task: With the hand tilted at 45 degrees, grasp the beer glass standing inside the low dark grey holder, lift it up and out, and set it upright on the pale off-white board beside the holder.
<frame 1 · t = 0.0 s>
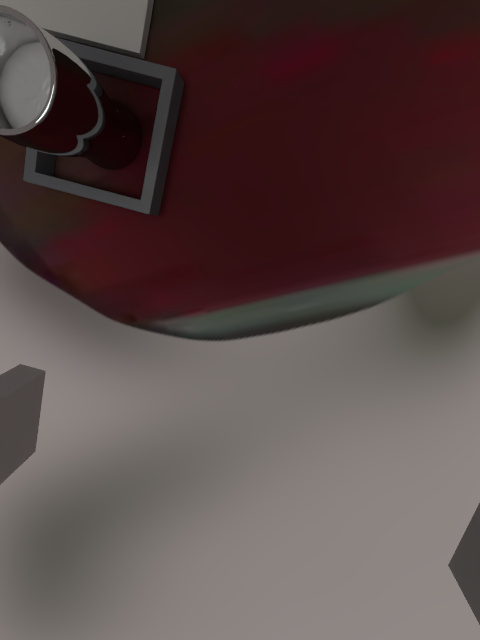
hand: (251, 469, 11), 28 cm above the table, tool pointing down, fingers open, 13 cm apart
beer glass: (111, 136, 36), resting in holder
holder: (110, 135, 35), on the table
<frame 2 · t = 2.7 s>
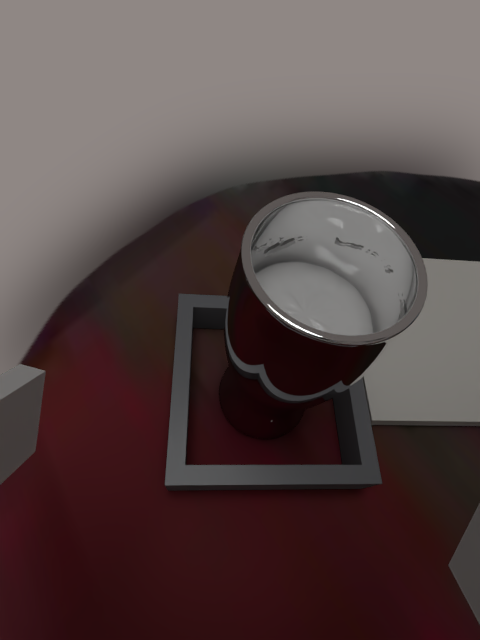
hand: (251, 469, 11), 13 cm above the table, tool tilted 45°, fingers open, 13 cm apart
board: (444, 337, 30), on the table
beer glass: (262, 395, 26), resting in holder
holder: (262, 394, 26), on the table
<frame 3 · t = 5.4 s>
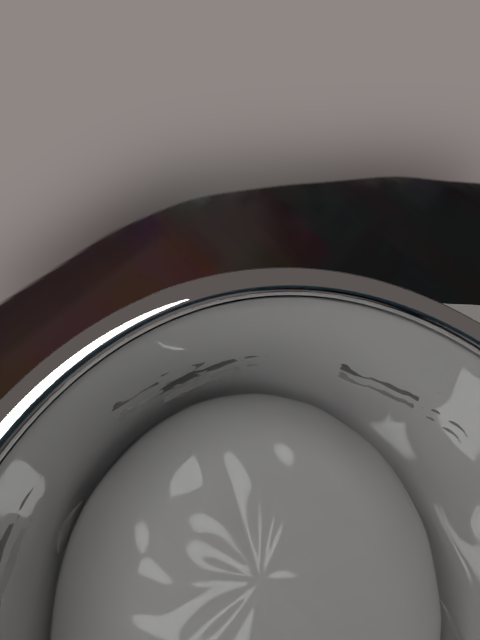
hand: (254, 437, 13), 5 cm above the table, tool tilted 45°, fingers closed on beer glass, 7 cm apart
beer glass: (216, 550, 16), resting in holder, touching gripper
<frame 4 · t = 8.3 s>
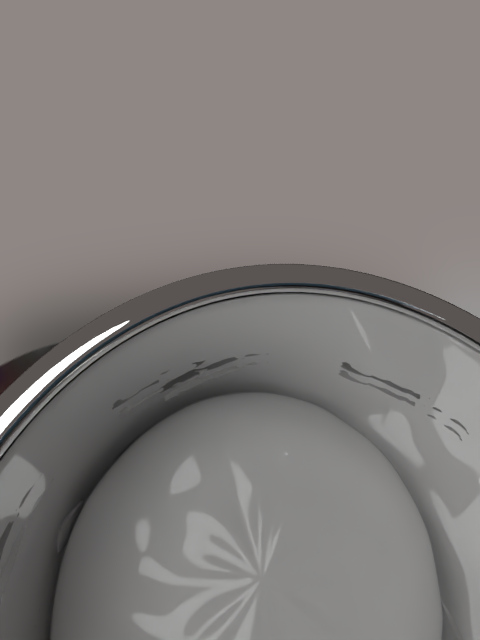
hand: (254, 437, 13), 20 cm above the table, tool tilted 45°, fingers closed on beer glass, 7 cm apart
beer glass: (216, 550, 16), point 15 cm above the table, touching gripper
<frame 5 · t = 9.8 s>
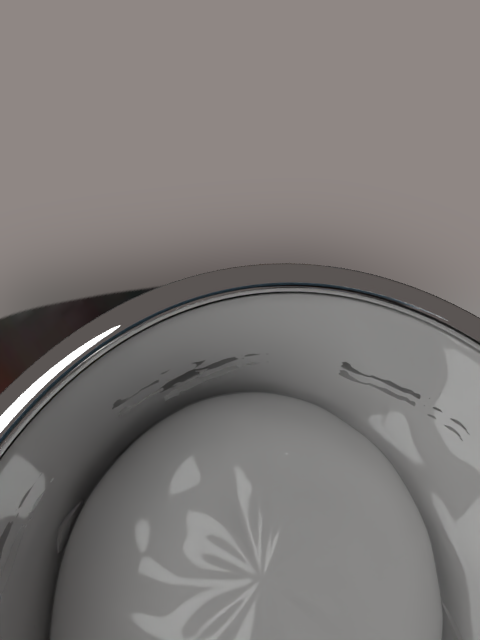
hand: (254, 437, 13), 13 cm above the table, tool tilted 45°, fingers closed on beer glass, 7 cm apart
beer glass: (216, 550, 16), point 7 cm above the table, touching gripper
when the fingers open (8 cm above the table, at t = 11.4 s): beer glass drops 1 cm, resting on board.
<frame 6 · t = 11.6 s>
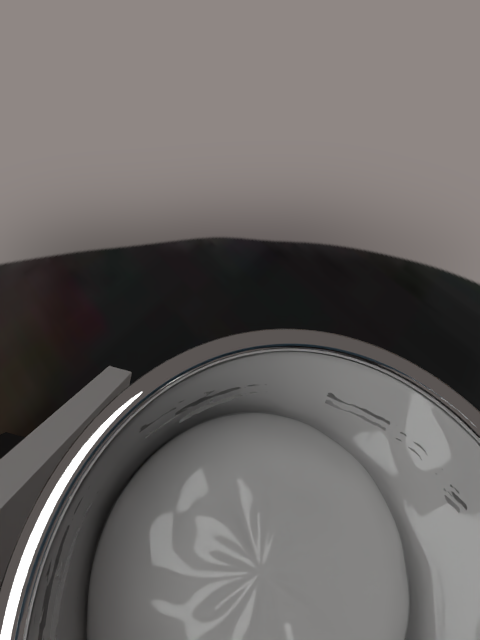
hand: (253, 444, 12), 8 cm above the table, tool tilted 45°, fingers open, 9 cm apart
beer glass: (215, 550, 17), point 1 cm above the table, touching board
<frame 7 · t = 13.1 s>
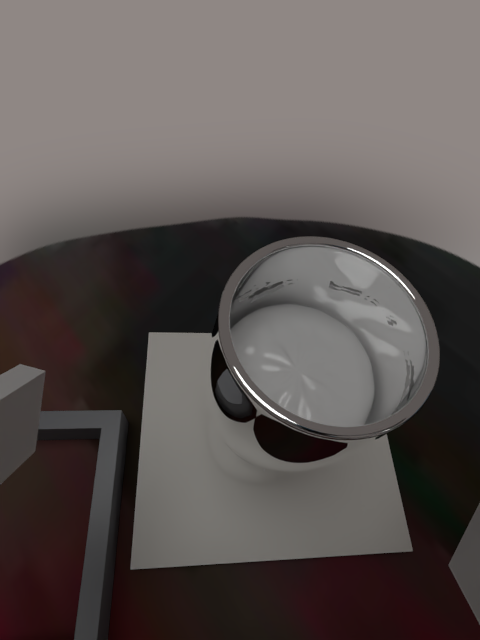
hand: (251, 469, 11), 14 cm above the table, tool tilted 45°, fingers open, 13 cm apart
board: (264, 435, 25), on the table
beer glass: (254, 432, 24), point 1 cm above the table, touching board
holder: (7, 532, 21), on the table
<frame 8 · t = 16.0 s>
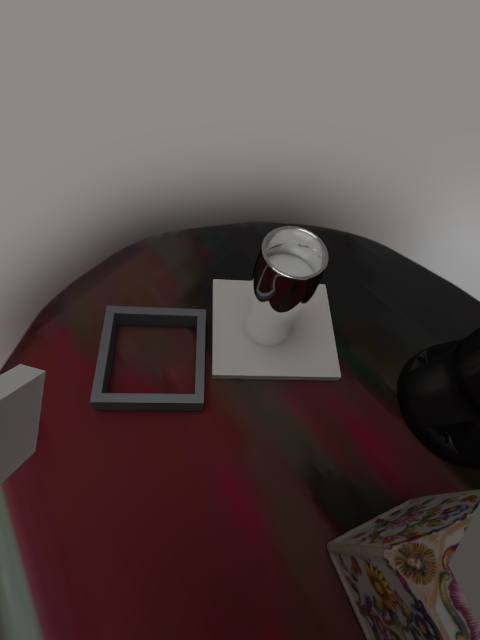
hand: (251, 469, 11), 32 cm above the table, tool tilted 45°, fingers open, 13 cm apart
board: (272, 330, 50), on the table
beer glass: (266, 326, 49), point 1 cm above the table, touching board
holder: (154, 362, 46), on the table
decorative jar: (398, 580, 38), on the table
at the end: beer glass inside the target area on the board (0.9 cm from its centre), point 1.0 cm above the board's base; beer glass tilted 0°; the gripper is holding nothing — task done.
